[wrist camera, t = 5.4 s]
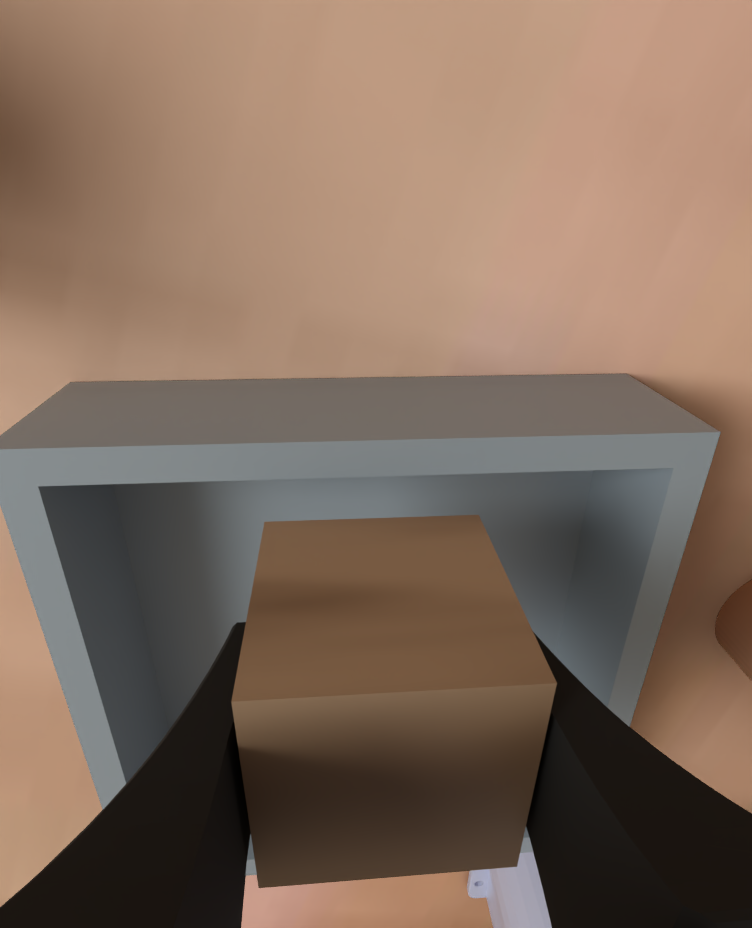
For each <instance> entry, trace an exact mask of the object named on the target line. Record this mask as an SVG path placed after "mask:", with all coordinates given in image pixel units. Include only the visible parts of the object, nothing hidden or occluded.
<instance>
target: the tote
mask: <svg viewBox="0 0 752 928" xmlns="http://www.w3.org/2000/svg"><path fill="white" fill-rule="evenodd" d="M720 433H721V432H720V431H718V430H717V429H715V428H713V427H712V426H710V425H709V424H707V423H705V422H704V421H702V420H700V419H699V418H697V417H696V416H694V415H692V414H691V413H689V412H688V411H686V410H684V409H683V408H681V407H680V406H678V405H676V404H675V403H673V402H671V401H670V400H668V399H667V398H665V397H663V396H662V395H660V394H659V393H657V392H655V391H654V390H652V389H651V388H649V387H647V386H646V385H644V384H642V383H641V382H639V381H638V380H636V379H634V378H633V377H631V376H630V375H628V374H571V375H506V376H441V377H376V378H311V379H246V380H181V381H117V382H70V383H69V384H67V385H66V386H65V387H63V388H62V389H61V390H59V391H58V392H57V393H56V394H54V395H53V396H52V397H50V398H49V399H48V400H46V401H45V402H44V403H42V404H41V405H40V406H38V407H37V408H36V409H35V410H33V411H32V412H31V413H29V414H28V415H27V416H25V417H24V418H23V419H21V420H20V421H19V422H17V423H16V424H15V425H14V426H12V427H11V428H10V429H8V430H7V431H6V432H4V433H3V434H2V435H0V506H1V509H2V512H3V515H4V517H5V520H6V523H7V526H8V529H9V532H10V535H11V538H12V541H13V544H14V547H15V550H16V553H17V556H18V559H19V562H20V565H21V568H22V571H23V574H24V577H25V580H26V583H27V586H28V589H29V592H30V595H31V598H32V601H33V604H34V607H35V610H36V613H37V616H38V618H39V621H40V624H41V627H42V630H43V633H44V636H45V639H46V642H47V645H48V648H49V651H50V654H51V657H52V660H53V663H54V666H55V669H56V672H57V675H58V678H59V681H60V684H61V687H62V690H63V693H64V696H65V699H66V702H67V705H68V708H69V711H70V714H71V717H72V720H73V722H74V725H75V728H76V731H77V734H78V737H79V740H80V743H81V746H82V749H83V752H84V755H85V758H86V761H87V764H88V767H89V770H90V773H91V776H92V779H93V782H94V785H95V788H96V791H97V794H98V797H99V800H100V803H101V806H102V809H104V808H105V807H106V806H107V805H108V804H109V802H110V801H111V800H112V799H113V798H114V797H115V796H116V795H117V793H118V792H119V791H120V790H121V789H122V788H123V787H124V786H125V785H126V783H127V782H128V781H129V780H130V779H131V778H132V776H133V775H134V774H135V773H136V772H137V770H138V769H139V768H140V767H141V766H142V764H143V763H144V762H145V761H146V760H147V758H148V757H149V756H150V755H151V753H152V752H153V751H154V749H155V748H156V747H157V746H158V744H159V743H160V742H161V740H162V739H163V738H164V736H165V735H166V734H167V732H168V731H169V729H170V728H171V727H172V725H173V724H174V722H175V721H176V720H177V718H178V717H179V715H180V714H181V713H182V711H183V710H184V708H185V707H186V705H187V704H188V702H189V701H190V699H191V698H192V696H193V695H194V693H195V692H196V690H197V688H198V687H199V685H200V684H201V682H202V681H203V679H204V677H205V676H206V674H207V673H208V671H209V669H210V668H211V666H212V664H213V662H214V661H215V659H216V657H217V655H218V654H219V652H220V650H221V648H222V646H223V645H224V643H225V641H226V639H227V637H228V635H229V633H230V631H231V629H232V627H233V626H234V625H235V624H236V623H237V622H246V619H247V614H248V609H249V603H250V598H251V592H252V587H253V581H254V576H255V571H256V565H257V560H258V554H259V549H260V543H261V538H262V532H263V527H264V522H272V521H302V520H333V519H363V518H394V517H425V516H455V515H479V516H480V519H481V521H482V523H483V525H484V527H485V529H486V532H487V534H488V536H489V538H490V540H491V542H492V544H493V547H494V549H495V551H496V553H497V555H498V557H499V560H500V562H501V564H502V566H503V568H504V570H505V572H506V575H507V577H508V579H509V581H510V583H511V585H512V588H513V590H514V592H515V594H516V596H517V598H518V600H519V603H520V605H521V607H522V609H523V611H524V613H525V616H526V618H527V620H528V622H529V624H530V626H531V628H532V631H533V632H534V633H535V634H536V635H537V636H538V637H539V638H540V640H541V641H542V642H543V643H544V644H545V645H546V646H547V647H548V648H549V649H550V651H551V652H552V653H553V654H554V655H555V656H556V657H557V658H558V659H559V660H560V661H561V662H562V663H563V664H564V665H565V666H566V667H567V668H568V669H569V671H570V672H571V673H572V674H573V675H574V676H575V677H576V678H577V679H578V680H579V681H580V682H581V683H582V684H583V685H584V686H585V687H586V688H587V689H588V690H589V691H590V692H591V693H592V694H594V695H595V696H596V697H597V698H598V699H599V700H600V701H601V702H602V703H603V704H604V705H605V706H606V707H607V708H609V709H610V710H611V711H612V712H613V713H614V714H615V715H616V716H617V717H619V718H620V719H621V720H622V721H623V722H624V723H625V724H627V725H628V726H629V727H630V724H631V721H632V718H633V714H634V711H635V708H636V705H637V701H638V698H639V695H640V692H641V688H642V685H643V682H644V679H645V676H646V672H647V669H648V666H649V663H650V659H651V656H652V653H653V650H654V646H655V643H656V640H657V637H658V633H659V630H660V627H661V624H662V620H663V617H664V614H665V611H666V608H667V604H668V601H669V598H670V595H671V591H672V588H673V585H674V582H675V578H676V575H677V572H678V569H679V565H680V562H681V559H682V556H683V553H684V549H685V546H686V543H687V540H688V536H689V533H690V530H691V527H692V523H693V520H694V517H695V514H696V510H697V507H698V504H699V501H700V497H701V494H702V491H703V488H704V485H705V481H706V478H707V475H708V472H709V468H710V465H711V462H712V459H713V455H714V452H715V449H716V446H717V442H718V439H719V436H720ZM527 852H533V849H532V845H531V841H530V838H529V834H528V831H527V828H525V832H524V837H523V842H522V846H521V851H520V853H527ZM246 875H257V872H256V866H255V859H254V852H253V845H252V838H251V835H250V841H249V849H248V856H247V864H246ZM246 875H245V876H246Z"/></svg>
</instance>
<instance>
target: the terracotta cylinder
mask: <svg viewBox="0 0 752 928" xmlns="http://www.w3.org/2000/svg"><path fill="white" fill-rule="evenodd" d="M715 634H716V638H717V640H718V642H719V644H720V645H721V646H722V647H723V649H724V650H725V651H726V652H727V653H728V654H729V656H730V657H731V658H732V659H733V660H734V661H735V663H736V664H737V665H738V666H739V667H740V668H741V669H742V671H743V672H744V673H745V674H746V675H747V676H748V678H749V679H750V680H751V681H752V580H750V581H749V582H747V583H746V584H744V585H743V586H742V587H740V588H739V589H738V590H737V591H735V592H734V593H733V594H732V595H731V596H730V597H729V599H728V600H727V601H726V602H725V604H724V605H723V607H722V608H721V610H720V612H719V614H718V616H717V620H716V624H715Z"/></svg>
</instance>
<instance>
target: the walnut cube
mask: <svg viewBox="0 0 752 928" xmlns="http://www.w3.org/2000/svg"><path fill="white" fill-rule="evenodd" d="M556 685H557V682H556V680H555V678H554V676H553V674H552V672H551V669H550V667H549V665H548V663H547V661H546V659H545V656H544V654H543V652H542V650H541V648H540V646H539V644H538V641H537V639H536V637H535V635H534V633H533V631H532V628H531V626H530V624H529V622H528V620H527V618H526V616H525V613H524V611H523V609H522V607H521V605H520V603H519V600H518V598H517V596H516V594H515V592H514V590H513V588H512V585H511V583H510V581H509V579H508V577H507V575H506V572H505V570H504V568H503V566H502V564H501V562H500V560H499V557H498V555H497V553H496V551H495V549H494V547H493V544H492V542H491V540H490V538H489V536H488V534H487V532H486V529H485V527H484V525H483V523H482V521H481V519H480V516H479V515H455V516H425V517H394V518H363V519H333V520H302V521H272V522H264V527H263V532H262V538H261V543H260V549H259V554H258V560H257V565H256V571H255V576H254V581H253V587H252V592H251V598H250V603H249V609H248V614H247V619H246V625H245V630H244V636H243V641H242V647H241V652H240V657H239V663H238V668H237V674H236V679H235V685H234V690H233V695H232V701H231V703H232V710H233V716H234V723H235V730H236V737H237V743H238V750H239V757H240V764H241V771H242V777H243V784H244V791H245V798H246V805H247V811H248V818H249V825H250V832H251V838H252V845H253V852H254V859H255V866H256V872H257V879H258V886H259V888H265V887H277V886H290V885H302V884H314V883H326V882H338V881H350V880H362V879H375V878H387V877H399V876H411V875H423V874H435V873H447V872H460V871H472V870H484V869H496V868H508V867H517V865H518V860H519V855H520V851H521V846H522V842H523V837H524V832H525V828H526V823H527V819H528V814H529V809H530V805H531V800H532V796H533V791H534V786H535V782H536V777H537V773H538V768H539V763H540V759H541V754H542V750H543V745H544V740H545V736H546V731H547V727H548V722H549V717H550V713H551V708H552V704H553V699H554V694H555V690H556Z"/></svg>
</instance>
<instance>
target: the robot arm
mask: <svg viewBox="0 0 752 928" xmlns="http://www.w3.org/2000/svg"><path fill="white" fill-rule="evenodd" d="M245 625H246V622H237V623H236V624H235V625H234V626H233V627H232V629H231V631H230V633H229V635H228V637H227V639H226V641H225V643H224V645H223V646H222V648H221V650H220V652H219V654H218V655H217V657H216V659H215V661H214V662H213V664H212V666H211V668H210V669H209V671H208V673H207V674H206V676H205V677H204V679H203V681H202V682H201V684H200V685H199V687H198V688H197V690H196V692H195V693H194V695H193V696H192V698H191V699H190V701H189V702H188V704H187V705H186V707H185V708H184V710H183V711H182V713H181V714H180V715H179V717H178V718H177V720H176V721H175V722H174V724H173V725H172V727H171V728H170V729H169V731H168V732H167V734H166V735H165V736H164V738H163V739H162V740H161V742H160V743H159V744H158V746H157V747H156V748H155V749H154V751H153V752H152V753H151V755H150V756H149V757H148V758H147V760H146V761H145V762H144V763H143V764H142V766H141V767H140V768H139V769H138V770H137V772H136V773H135V774H134V775H133V776H132V778H131V779H130V780H129V781H128V782H127V783H126V785H125V786H124V787H123V788H122V789H121V790H120V791H119V792H118V793H117V795H116V796H115V797H114V798H113V799H112V800H111V801H110V802H109V804H108V805H107V806H106V807H105V808H104V809H103V810H102V811H101V812H100V813H99V814H98V815H97V817H96V818H95V819H94V820H93V821H92V822H91V823H90V824H89V825H88V826H87V827H86V828H85V829H84V830H83V831H82V832H81V833H80V834H79V835H78V836H77V837H76V838H75V839H74V840H73V841H72V842H71V843H70V844H69V845H68V846H67V847H66V848H65V849H63V850H62V851H61V852H60V853H59V854H58V855H57V856H56V857H55V858H54V859H53V860H52V861H51V862H50V863H49V864H48V865H47V866H46V867H45V868H44V869H43V870H42V871H41V872H40V873H39V874H38V875H36V876H35V877H34V878H33V879H32V880H31V881H30V882H29V883H28V884H27V885H25V886H24V887H23V888H22V889H21V890H20V891H19V892H17V893H16V894H15V895H14V896H13V897H12V898H10V899H9V900H8V901H7V902H6V903H5V904H4V905H2V906H1V907H0V928H241V921H242V909H243V898H244V887H245V875H246V864H247V856H248V849H249V841H250V835H251V832H250V825H249V818H248V811H247V805H246V798H245V791H244V784H243V777H242V771H241V764H240V757H239V750H238V743H237V737H236V730H235V723H234V716H233V710H232V703H231V701H232V695H233V690H234V685H235V679H236V674H237V668H238V663H239V657H240V652H241V647H242V641H243V636H244V630H245ZM533 633H534V632H533ZM534 635H535V637H536V639H537V641H538V644H539V646H540V648H541V650H542V652H543V654H544V656H545V659H546V661H547V663H548V665H549V667H550V669H551V672H552V674H553V676H554V678H555V680H556V682H557V685H556V690H555V694H554V699H553V704H552V708H551V713H550V717H549V722H548V727H547V731H546V736H545V740H544V745H543V750H542V754H541V759H540V763H539V768H538V773H537V777H536V782H535V786H534V791H533V796H532V800H531V805H530V809H529V814H528V819H527V823H526V828H527V831H528V834H529V838H530V841H531V845H532V849H533V852H527V853H520V855H519V860H518V865H517V867H508V868H496V869H484V870H472V871H469V878H468V885H467V890H468V895H469V896H470V897H472V898H484V897H486V898H487V902H488V906H489V911H490V915H491V920H492V924H493V928H752V814H751V813H750V812H748V811H747V810H745V809H743V808H742V807H740V806H739V805H737V804H735V803H734V802H732V801H731V800H729V799H727V798H726V797H724V796H723V795H721V794H720V793H718V792H717V791H715V790H714V789H712V788H711V787H709V786H708V785H706V784H705V783H703V782H702V781H700V780H699V779H698V778H696V777H695V776H693V775H692V774H691V773H689V772H688V771H686V770H685V769H683V768H682V767H681V766H679V765H678V764H676V763H675V762H674V761H672V760H671V759H670V758H668V757H667V756H666V755H664V754H663V753H662V752H660V751H659V750H658V749H656V748H655V747H654V746H652V745H651V744H650V743H649V742H648V741H646V740H645V739H644V738H643V737H641V736H640V735H639V734H638V733H636V732H635V731H634V730H633V729H632V728H630V727H629V726H628V725H627V724H625V723H624V722H623V721H622V720H621V719H620V718H619V717H617V716H616V715H615V714H614V713H613V712H612V711H611V710H610V709H609V708H607V707H606V706H605V705H604V704H603V703H602V702H601V701H600V700H599V699H598V698H597V697H596V696H595V695H594V694H592V693H591V692H590V691H589V690H588V689H587V688H586V687H585V686H584V685H583V684H582V683H581V682H580V681H579V680H578V679H577V678H576V677H575V676H574V675H573V674H572V673H571V672H570V671H569V669H568V668H567V667H566V666H565V665H564V664H563V663H562V662H561V661H560V660H559V659H558V658H557V657H556V656H555V655H554V654H553V653H552V652H551V651H550V649H549V648H548V647H547V646H546V645H545V644H544V643H543V642H542V641H541V640H540V638H539V637H538V636H537V635H536V634H535V633H534Z"/></svg>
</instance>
